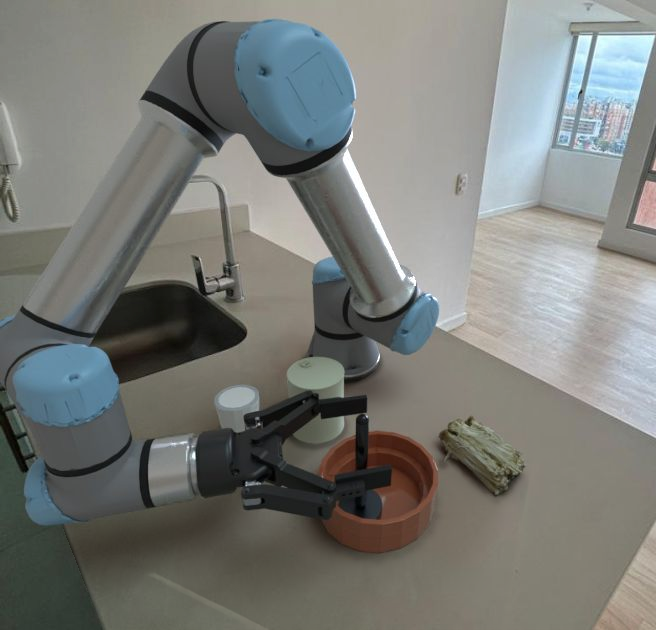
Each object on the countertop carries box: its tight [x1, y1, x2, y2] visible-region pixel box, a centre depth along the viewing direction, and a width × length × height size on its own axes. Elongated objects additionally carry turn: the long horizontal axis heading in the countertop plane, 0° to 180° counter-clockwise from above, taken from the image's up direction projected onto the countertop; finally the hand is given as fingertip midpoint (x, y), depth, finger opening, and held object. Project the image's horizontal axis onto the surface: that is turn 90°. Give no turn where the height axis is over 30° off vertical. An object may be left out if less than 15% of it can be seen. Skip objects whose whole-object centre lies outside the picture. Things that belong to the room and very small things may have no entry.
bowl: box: [316, 430, 439, 554], centre depth 63 cm, size 16×16×6 cm
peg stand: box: [338, 413, 382, 520], centre depth 58 cm, size 6×6×17 cm
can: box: [286, 357, 345, 444], centre depth 74 cm, size 9×9×12 cm
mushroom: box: [438, 415, 527, 497], centre depth 71 cm, size 14×10×5 cm, turn 42°
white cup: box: [213, 384, 260, 433], centre depth 73 cm, size 7×7×7 cm
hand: (377, 435), depth 58 cm, fingers open, 13 cm apart
